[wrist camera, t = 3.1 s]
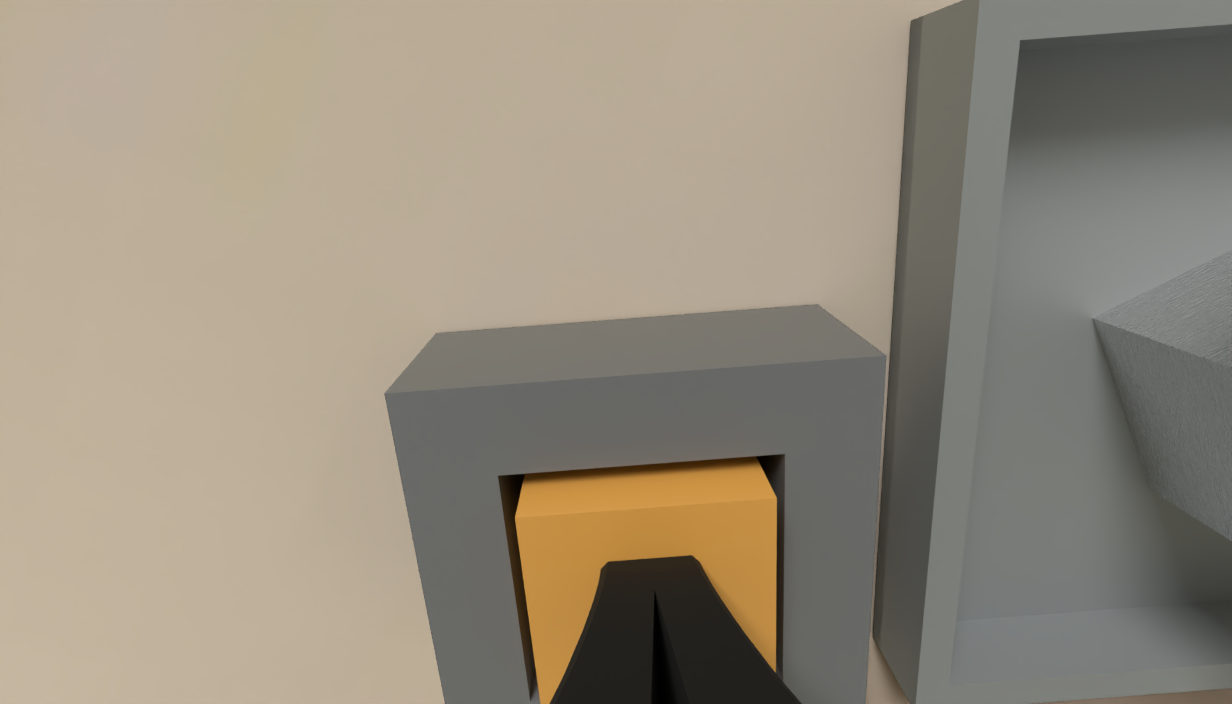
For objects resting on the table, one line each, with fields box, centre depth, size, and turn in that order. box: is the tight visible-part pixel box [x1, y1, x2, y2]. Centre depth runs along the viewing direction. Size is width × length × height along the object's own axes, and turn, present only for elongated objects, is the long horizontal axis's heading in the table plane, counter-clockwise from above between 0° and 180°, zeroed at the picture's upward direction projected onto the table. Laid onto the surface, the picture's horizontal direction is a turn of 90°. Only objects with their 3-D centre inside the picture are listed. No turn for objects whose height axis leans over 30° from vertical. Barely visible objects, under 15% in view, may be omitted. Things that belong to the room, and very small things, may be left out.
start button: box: [515, 456, 777, 704], centre depth 11 cm, size 4×4×3 cm
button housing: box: [385, 304, 886, 704], centre depth 12 cm, size 7×7×3 cm
